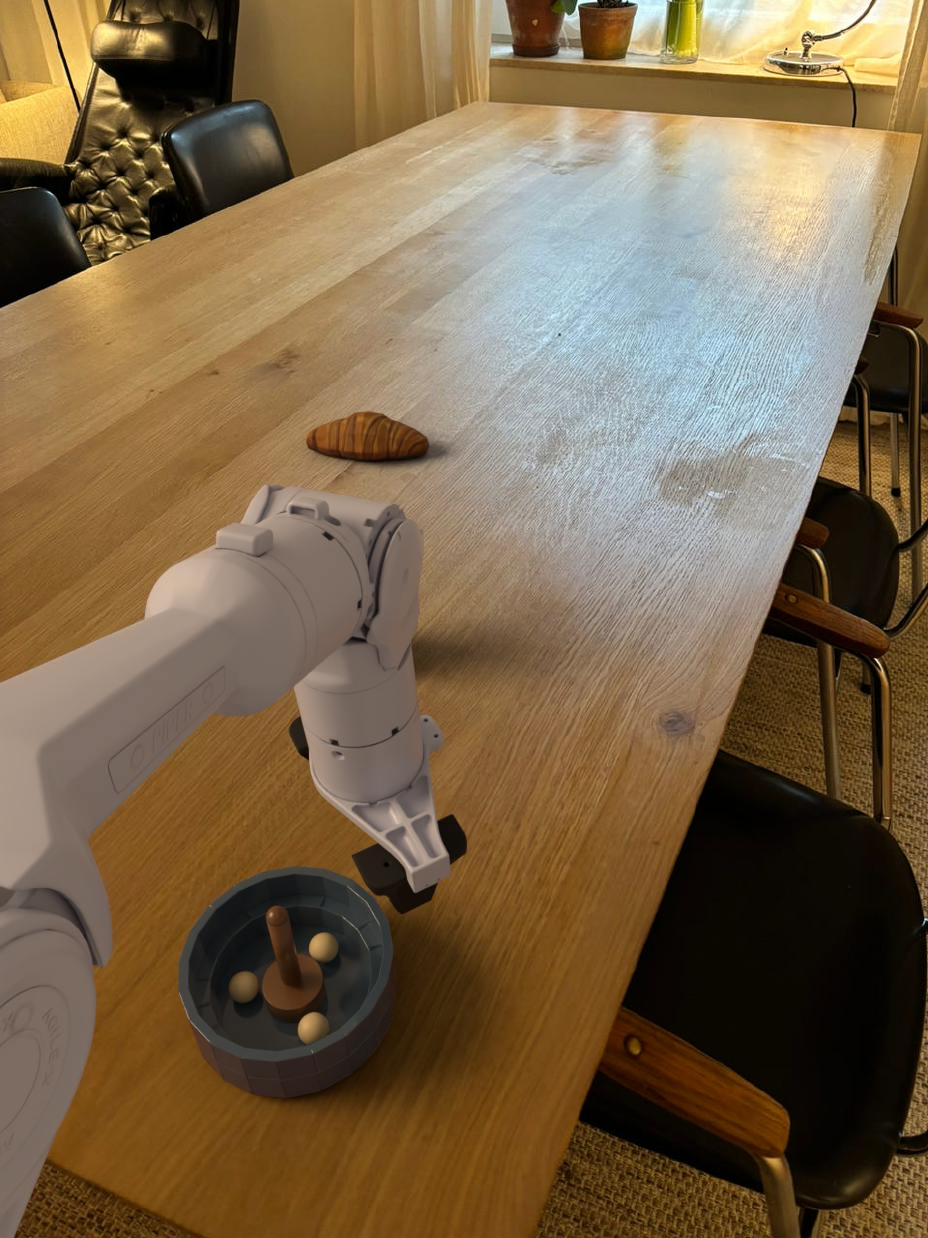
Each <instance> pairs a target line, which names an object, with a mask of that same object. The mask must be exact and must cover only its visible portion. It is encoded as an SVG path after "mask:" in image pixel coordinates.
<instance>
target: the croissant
mask: <svg viewBox="0 0 928 1238" xmlns="http://www.w3.org/2000/svg"><path fill="white" fill-rule="evenodd" d="M305 443H306V447H307V449H308V450H310V451H314V452H316V453H318V454H323V455H326V456H330V457H334V458H335V457H336V458H337V457H338V458H345V459H349V460H354V461H355V460H356V461H363V462H369V461H370V462H371V461H384V460H403V459H410V458H416V457H420V456H423V455H427V453H428V452H429V449H430V443H429V440H428V436H426V435H425V434H423V433H422V432H420V431H419V430H418V429H416V428H414V427H412V426H409V425H407V424H405V423H403V422H400V421H398V420H395V419H392V418H390V417H389V416H387V415H386V414H384V413H382V412H376V411H370V410H365V411H357V412H353V413H351V414H350V415H348V416H347V417H343V418H338V419H335V420H332V421H329V422H326V423H323V424H321V425H319V426H317V427H316V428H314V429H312V430H311V431H309V432H308V433H307V434H306V439H305Z"/></svg>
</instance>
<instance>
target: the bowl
mask: <svg viewBox="0 0 928 1238" xmlns="http://www.w3.org/2000/svg"><path fill="white" fill-rule="evenodd" d="M276 905H279V906H282V907H284V908H285V909H286V910H287V912H288V916H289V921H290V925H291V930H292V934H293V939H294V943H295V947H296V952H297V954H303V955H306V956H309V957H311V955H310V952H309V945H310V942H311V940H312V939H313V938H314V936H316V935H317V934H319V933H329V934H332V935H333V936H334V937H335V938H336V940H337V942H338V953H337V955H336V957H335V958H334V959H333V960H332V961H330V962H328V963H319V962H317V961H316V962H317V963H318V964H319V966H320V967H321V970H322V973H323V978H324V983H325V990H326V992H325V999H324V1002H323V1004H322V1006H321V1007H320V1009H319V1010H318V1011H317V1013H320V1014H322V1015H324V1016H325V1017H326V1019H327V1020H328V1023H329V1034H328V1035H327V1036H326V1037H324V1038H322V1039H320V1040H318V1041H316V1042H314V1043H312V1044H310V1045H307V1044H305V1043H303V1042H302V1040H301V1039H300V1037H299V1034H298V1026H299V1023H300V1022H297V1023H286V1022H283V1021H280V1020H278V1019H276V1018H275V1017H274V1016H273V1015H271V1013H270V1012H269V1010H268V1008H267V1005H266V1002H265V998H264V995H263V991H262V981H263V977H264V975H265V973H266V971H267V969H268V968H269V967H270V966H271V964H273V963H274V962H275V961H276V957H275V953H274V949H273V945H272V941H271V937H270V933H269V929H268V925H267V921H266V914H267V912H268V910H269V909H270V908H271V907H273V906H276ZM311 958H312V957H311ZM312 959H313V958H312ZM396 969H397V968H396V959H395V950H394V944H393V937H392V931H391V925H390V923H389V919H388V918H387V916H386V914H385V913H384V911H383V909H382V908H381V906H380V904H379V903H378V901H377V899H376V897H374V896H373V895H372V894H371V893H370V892H369V891H367V890H366V889H365V888H364V887H363V886H362V885H360V884H359V883H358V882H356V881H355V880H354V879H352V878H350V877H348V876H345V875H344V874H343V875H342V874H340V873H337V872H335V871H332V870H330V869H327V868H321V867H311V866H299V865H295V866H294V865H293V866H288V867H282V868H276V869H270V870H265V871H262V872H260V873H257V874H255V875H254V876H251V877H248V878H246V879H244V880H242V881H240V882H237V883H235V884H234V885H232V886H231V887H230V888H229V889H227V890H226V891H225V892H224V893H222V894H221V895H219V896H218V897H217V898H216V899H215V900H214V901H212V902H211V903H210V904H209V905H208V906H207V907H206V908H205V910H204V911H203V913H202V914H201V915H200V916H199V918H198V919H197V920H196V922H195V923H194V925H193V926H192V927H191V929H190V930H189V932H188V935H187V937H186V940H185V943H184V946H183V948H182V951H181V954H180V957H179V959H178V970H177V971H178V972H177V973H178V976H177V977H178V979H177V982H178V984H177V985H178V986H177V992H178V996H179V998H180V1001H181V1004H182V1006H183V1008H184V1012H185V1014H186V1017H187V1020H188V1022H189V1025H190V1027H191V1030H192V1033H193V1036H194V1038H195V1041H196V1043H197V1047H198V1048H199V1050H200V1053H201V1056H202V1058H203V1059H204V1060H205V1062H206V1063H207V1064H208V1065H209V1066H210V1067H211V1068H212V1069H213V1070H214V1071H215V1073H216V1074H217V1075H218V1076H219V1077H220V1078H221V1080H223V1081H224V1082H226V1083H228V1084H230V1085H232V1086H234V1087H236V1088H239V1089H240V1090H242V1091H244V1092H246V1093H249V1094H251V1095H255V1096H265V1097H273V1098H282V1099H290V1098H295V1097H300V1096H304V1095H310V1094H314V1093H319V1092H321V1091H325V1090H326V1089H328V1088H329V1087H332V1086H333V1085H335V1084H337V1083H339V1082H341V1081H342V1080H345V1079H346V1078H348V1077H349V1076H352V1075H353V1074H354V1073H355V1072H356V1071H357V1070H358V1069H359V1068H360V1067H361V1066H362V1065H363V1064H364V1063H365V1062H366V1061H367V1060H368V1059H369V1058H370V1057H371V1056H372V1055H373V1054H374V1053H375V1052H376V1051H377V1049H378V1048H379V1046H380V1044H381V1042H382V1041H383V1038H384V1037H385V1035H386V1033H387V1031H388V1029H389V1028H390V1025H391V1023H392V1022H393V1019H394V1014H395V1010H396V1009H395V1008H396V1003H397V997H398V992H399V991H398V990H399V985H398V977H397V970H396ZM242 971H248V972H251V973H253V974H254V975H255V976H256V977H257V979H258V981H259V991H258V994H257V995H256V997H255V998H254V999H253V1000H251V1001H250V1002H247V1003H238V1002H236V1001H234V1000H233V999H232V998H231V996H230V994H229V983H230V980H231V979H232V977H233V976H234V975H235V974H237V973H239V972H242Z"/></svg>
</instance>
